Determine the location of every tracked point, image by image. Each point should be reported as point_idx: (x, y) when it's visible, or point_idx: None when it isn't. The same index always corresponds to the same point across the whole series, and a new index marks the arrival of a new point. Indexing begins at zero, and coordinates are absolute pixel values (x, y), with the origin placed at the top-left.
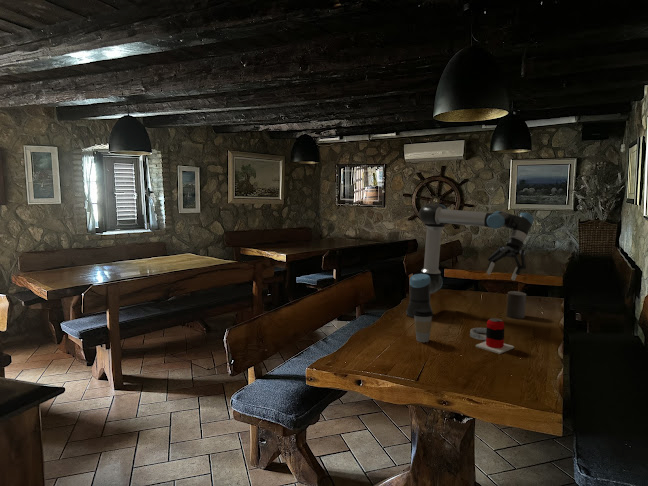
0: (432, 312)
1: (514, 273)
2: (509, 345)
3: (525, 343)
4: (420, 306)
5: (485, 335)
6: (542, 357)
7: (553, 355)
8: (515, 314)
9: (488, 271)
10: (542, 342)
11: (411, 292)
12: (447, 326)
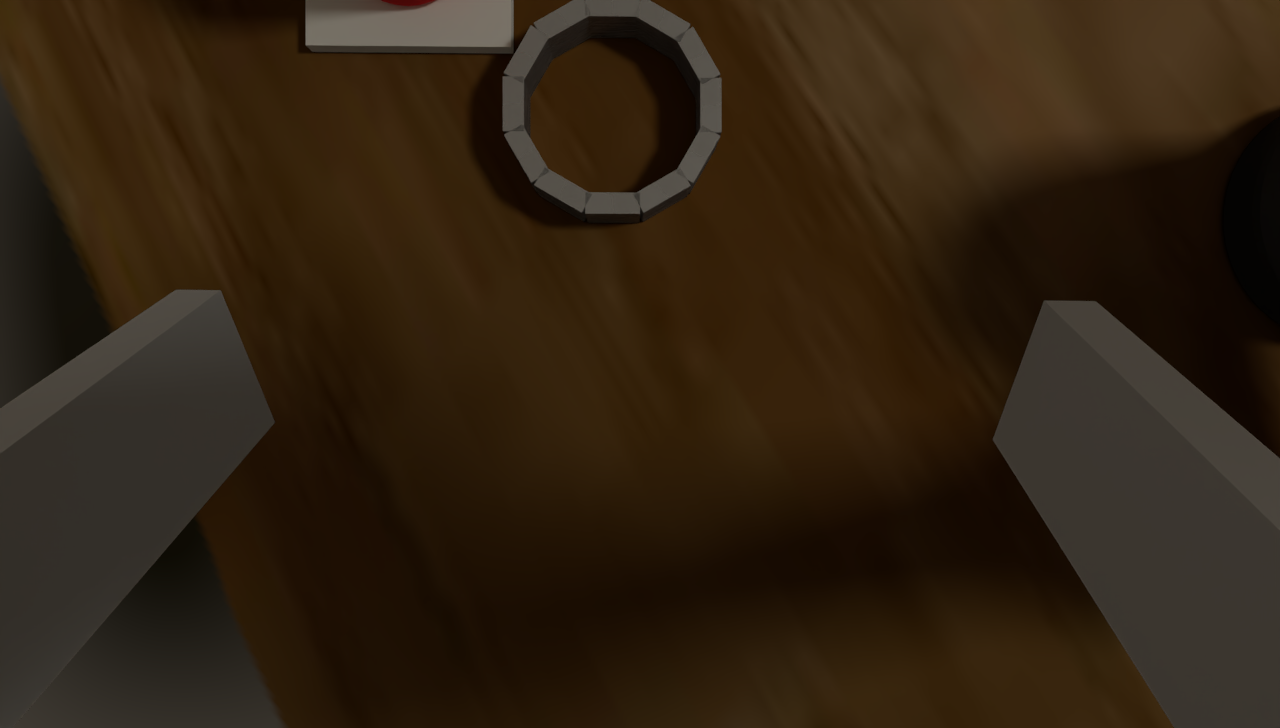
0: (1272, 270)
1: (30, 396)
2: (337, 34)
3: (309, 217)
4: None
5: (542, 22)
6: (81, 22)
7: (49, 122)
8: None
9: (1071, 336)
10: None
11: None
12: (958, 123)
